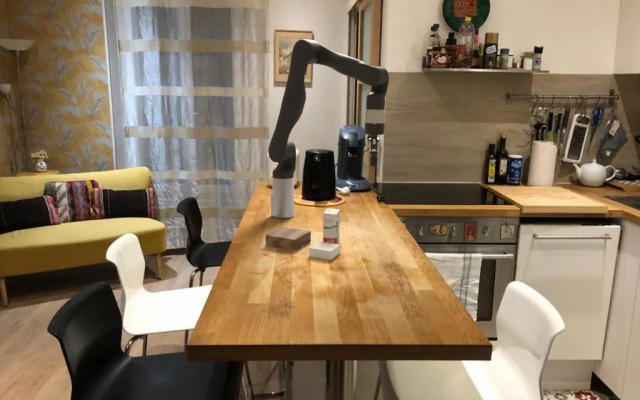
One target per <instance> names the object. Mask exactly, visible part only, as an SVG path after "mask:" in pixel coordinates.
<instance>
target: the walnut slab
mask: <svg viewBox="0 0 640 400" xmlns="http://www.w3.org/2000/svg"><path fill="white" fill-rule="evenodd" d="M311 239H312V231H311V230H306V229H300V228H293V227H287V226H281V227H279V228H278V229H275V230H274V231H270V232H269V233H267V234H265V246H266V247H271V248H277V249H282V250H289V251H297V250H299V249H300V248H302V247H304V246H305V245H307V244H309V243H310V242H311Z"/></svg>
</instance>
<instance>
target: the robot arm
mask: <svg viewBox="0 0 640 400" xmlns="http://www.w3.org/2000/svg"><path fill="white" fill-rule="evenodd" d="M312 64H313V65H320V66H325V67H327V68H330V69H333V70H334V71H336V72H337V73H339V74H341V75H343V76H346V77H348V78H351V79H355V80H357V81H359V82H360V83H362V84H364V85H367V86H369V87H371V88H370V92H369V93H368V94H367V95H366V98H365V99H366V100H365V113H364V114H365V115H364V134H365V135H368V136H369V135H370V138H369V139H368V144H369V145H368V147H369V152H370V153H369V156H370V166H371V167H376V166H377V159H378V158H377V157H378V152H379V148H380V147H379V146H380V138H378V137H379V136H383V135H384V134H385V130H386V127H385V125H386V111H385V110H386V95H387V93H388V87H389V83H390V74H389V72H388V70H387V69H386V68H385V67H384V66H375V65H370V64H367V63H366V62H364V61H362V60H361V59H357V58H355V57H352V56H349V55H345V54H342V53H339V52H336V51H333V50H332V49H330V48H328V47H326V46H324V45H323V44H321V43H319V42H317V41H316V40H313V39H304V38H302V39H299V40H296V42H295V43H294V45H293V47H292V50H291V57H290V63H289V71H288V75H287V81H286V84H285V89H284V93H283V96H282V100H281V104H280V109H279V112H278V113H279V114H278V117H277V120H276V125H275V129H274V131H273V133H272V136H271V139H270V142H269V145H268V149H267V150H268V152H267V154H268V158H269V159H270V160H271V161H272V163H277V166H276V167H275V168H274V169H273V170H272V172H271V173H272V174H271V175H272V176H271V177H272V178H271V179H272V181H271V182H272V194H270V216H271V217H273V218H277V219H289V218H294V216H295V172H296V167H297V147H296V145H295V143H294V142H293V141H292V140H291V139H289V138H290V135H291V132H292V130H293V129H294V128H295V126H296V125H297V123H298V122H299V120H300V119H301V116H302V115H303V111H304V108H305V104H306V100H307V92H306V84H305V78H306V74H307V73H306V72H307V68H308V66H309V65H312Z"/></svg>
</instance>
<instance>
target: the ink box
mask: <svg viewBox="0 0 640 400" xmlns="http://www.w3.org/2000/svg"><path fill="white" fill-rule="evenodd" d="M340 210H341V209H339V208H330V207H329V208H326V209H325V210H324V211H323V216H322V217H323V225H322V226H323V228H322V231H323V232H322V242H327V243H333V244H338V242H339V240H340V228H341V227H340V224H341V223H340V222H341V221H340V218H341V215H340V214H341V211H340Z"/></svg>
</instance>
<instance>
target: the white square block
mask: <svg viewBox="0 0 640 400" xmlns="http://www.w3.org/2000/svg"><path fill="white" fill-rule="evenodd" d="M341 248H342V247H341V244H338V243H337V244H333V243H327V242H323V241H318V242H317V243H314V244H313V245H311V246H310V247H308V249H309V251H308V253H309V255H308V256H309V257H310V258H317V259H322V260H327V261H332V260H333V259H334V258H336V257H337V256H338V255H340V254H341Z"/></svg>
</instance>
